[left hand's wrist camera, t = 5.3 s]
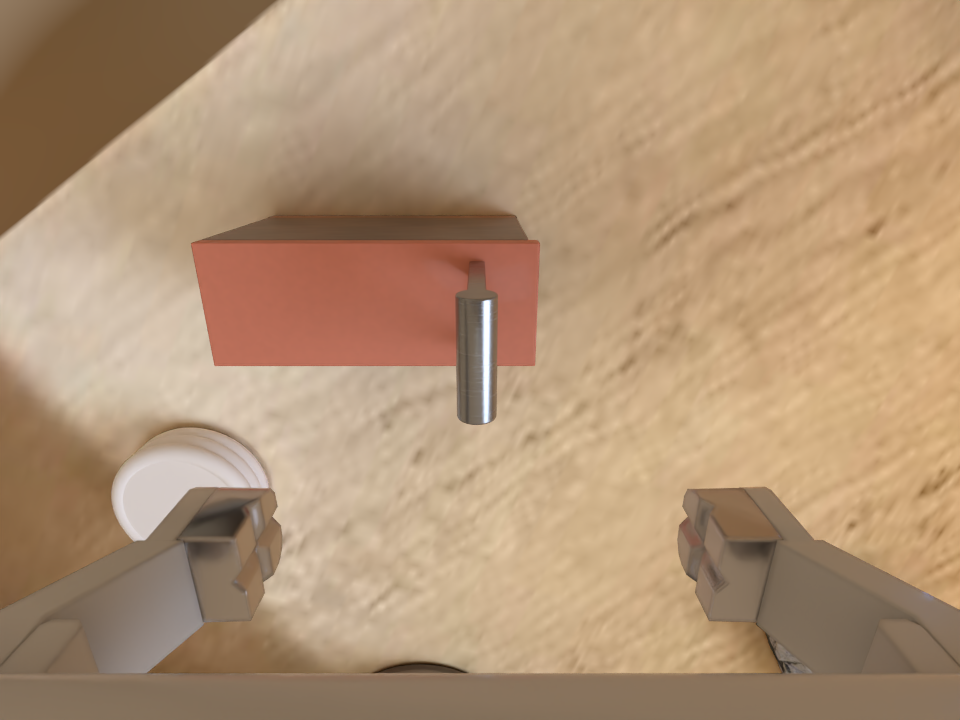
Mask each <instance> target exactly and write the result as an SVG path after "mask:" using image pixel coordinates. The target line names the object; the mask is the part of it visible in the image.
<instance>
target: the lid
mask: <svg viewBox="0 0 960 720" xmlns="http://www.w3.org/2000/svg"><path fill="white" fill-rule="evenodd" d="M191 246H192V251H193V256H194V262H195V267H196V272H197V277H198V282H199V287H200V293H201V298H202V303H203V308H204V313H205V319H206V324H207V329H208V334H209V339H210V344H211V350H212V355H213V360H214V365H215V366H456V374H457V416H458V418H459V420H460V421H462V422H464V423H467V424H472V425H482V424H487V423H490V422H492V421H493V420H494V419H495V418H496V411H497V366H535V352H536V327H537V303H538V278H539V253H540V243H539V242H538V240H199V241H196V242H193V243H191Z"/></svg>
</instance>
